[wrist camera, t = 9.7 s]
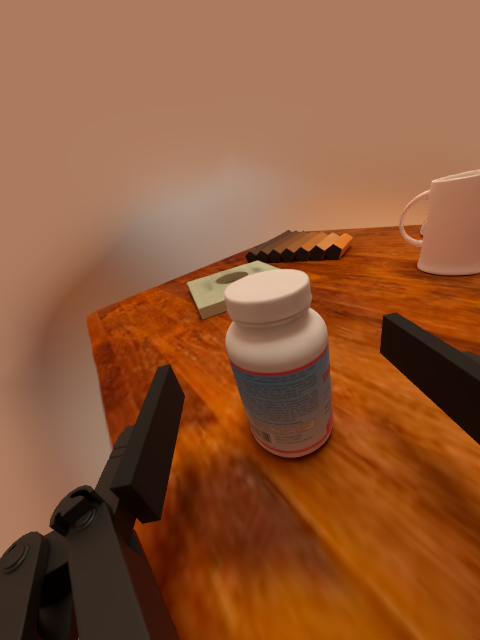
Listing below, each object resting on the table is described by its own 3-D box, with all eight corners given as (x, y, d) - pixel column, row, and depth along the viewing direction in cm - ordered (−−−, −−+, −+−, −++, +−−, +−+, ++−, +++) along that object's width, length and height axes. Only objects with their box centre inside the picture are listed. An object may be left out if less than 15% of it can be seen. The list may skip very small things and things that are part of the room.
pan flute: (285, 240, 79) (246, 263, 62) (284, 230, 77) (244, 251, 61) (364, 231, 64) (342, 259, 47) (365, 219, 62) (342, 242, 46)
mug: (384, 270, 38) (390, 190, 32) (409, 254, 41) (419, 180, 36) (482, 279, 28) (514, 168, 23) (504, 258, 32) (536, 158, 26)
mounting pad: (298, 286, 40) (297, 275, 39) (202, 319, 36) (198, 308, 36) (259, 268, 55) (257, 260, 55) (189, 290, 52) (186, 282, 51)
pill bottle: (351, 441, 15) (354, 281, 10) (265, 475, 14) (218, 323, 9) (307, 381, 20) (293, 258, 15) (242, 404, 19) (205, 283, 14)
